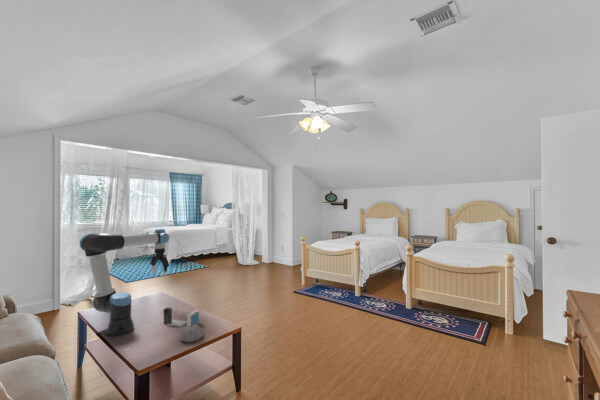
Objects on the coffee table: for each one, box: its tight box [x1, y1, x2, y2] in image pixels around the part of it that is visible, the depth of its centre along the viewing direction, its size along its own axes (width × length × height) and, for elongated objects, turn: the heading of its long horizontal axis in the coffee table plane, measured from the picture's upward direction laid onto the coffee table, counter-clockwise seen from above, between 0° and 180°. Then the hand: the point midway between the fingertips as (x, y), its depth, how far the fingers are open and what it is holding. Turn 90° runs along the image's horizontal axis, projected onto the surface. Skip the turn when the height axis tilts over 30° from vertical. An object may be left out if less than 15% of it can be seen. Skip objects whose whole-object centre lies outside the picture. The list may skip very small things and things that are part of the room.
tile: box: [186, 309, 200, 327], centre depth 186 cm, size 10×3×9 cm, turn 167°
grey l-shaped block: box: [163, 307, 187, 328], centre depth 190 cm, size 7×15×10 cm, turn 77°
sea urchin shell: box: [179, 324, 204, 343], centre depth 168 cm, size 13×14×8 cm
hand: (159, 274), depth 222 cm, fingers open, 13 cm apart
